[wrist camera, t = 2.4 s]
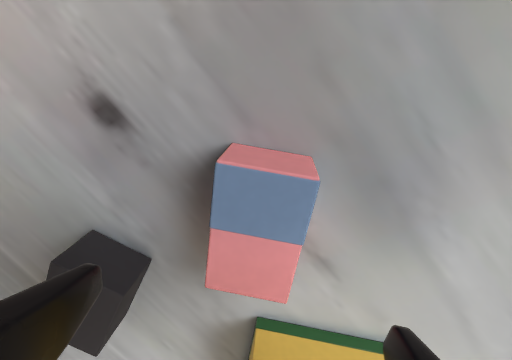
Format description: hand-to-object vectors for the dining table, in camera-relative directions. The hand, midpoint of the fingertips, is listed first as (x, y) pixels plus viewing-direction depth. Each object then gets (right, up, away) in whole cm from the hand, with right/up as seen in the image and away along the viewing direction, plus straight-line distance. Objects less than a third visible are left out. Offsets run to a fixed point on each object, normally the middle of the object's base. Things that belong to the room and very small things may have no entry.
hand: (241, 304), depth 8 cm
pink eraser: (+1, +2, +6) cm, 6 cm away
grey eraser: (-9, -3, +9) cm, 13 cm away
